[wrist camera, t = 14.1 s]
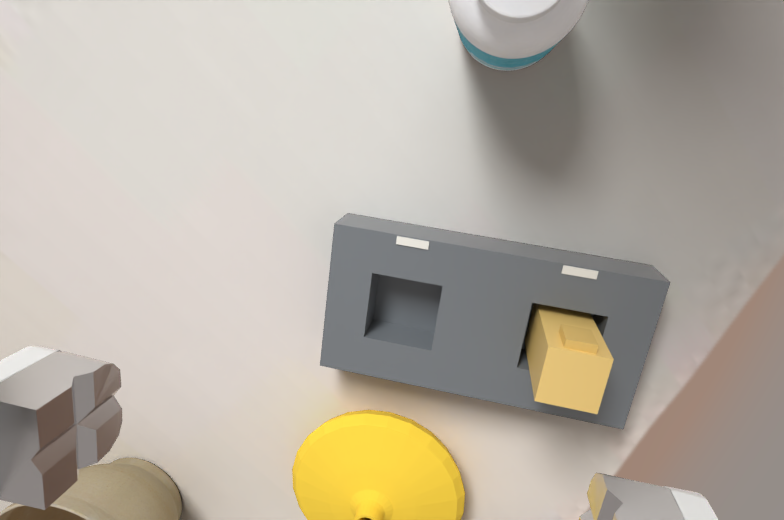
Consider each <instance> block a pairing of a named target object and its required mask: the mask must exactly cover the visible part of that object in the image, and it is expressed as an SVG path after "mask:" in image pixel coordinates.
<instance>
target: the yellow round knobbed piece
mask: <svg viewBox="0 0 784 520" xmlns="http://www.w3.org/2000/svg"><path fill="white" fill-rule="evenodd" d="M292 471H293V489H294V492H295V495H296V498H297V501H298V504H299V507H300V509H301V510H302V512H303V513H304V515H305V517H306V518H307V520H461V517H462V515H463V513H464V499H465V492H464V487H463V483H462V479H461V475H460V472H459V470H458V467H457V465H456V463H455V462H454V460H453V458H452V456H451V455H450V453H449V451H448V449H447V448H446V447H445V446H444V445H443V444H442V443H441V441H440V440H439V439H438V438H437V437H436V436H435V435H434V434H433V433H432V432H430V431H429V430H427V429H426V428H424V427H423V426H421V425H419V424H418V423H416V422H415V421H413V420H411V419H408V418H405V417H403V416H400V415H397V414H394V413H391V412H384V411H375V410H363V411H355V412H347V413H345V414H342V415H340V416H337V417H335V418H332V419H330V420H328V421H327V422H325V423H324V424H323V425H321V426H320V427H319V428H317V429H316V430H315V431H314V432H312V433H311V434H310V435H309V436H308V437H307V438H306V440H305V441H304V443H303V444H302V445H301V447H300V448H299V450H298V451H297V455H296V458H295V462H294V466H293V469H292Z"/></svg>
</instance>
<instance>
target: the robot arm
mask: <svg viewBox="0 0 784 520" xmlns="http://www.w3.org/2000/svg"><path fill="white" fill-rule="evenodd" d="M120 388H121V376H120V369H119V368H118V367H116V366H115V365H114V364H113V363H109V362H105V361H101V360H97V359H93V358H89V357H85V356H81V355H77V354H73V353H69V352H62V351H60V350H56V349H52V348H47V347H43V346H28V347H26V348H24V349H22V350H20V351H18V352H16V353H14V354H12V355H10V356H8V357H6V358H4V359H2V360H0V500H4V501H8V502H12V503H17V504H21V505H25V506H29V507H34V508H38V509H42V510H46V509H47V508H48V507H49V506H50V505H51V504H52V503H53V502H55V501H56V500H57V499H58V498H59V497H60V496H61V495H62V494H63V493H64V492H66V491H67V490H68V489H69V488H70V487H71V486H72V485H73V484H74V483H75V482H77V481H78V474H79V469H81V468H84V467H87V466H89V465H92V464H94V463H97V462H98V461H99V460H101V459H102V458H103V457H104V456H105V455H106V454H107V453H108V452H109V451H110V449H111V448H112V446H113V444H114V442H115V441H116V439H117V437H118V435H119V432H120V428H121V424H122V408H121V406H120V405H119V403H118V402H117V400H116V398H115V397H114V395H115V394H116V392H117V391H118V390H119V389H120ZM587 495H588V499H589V503H590V507H591V509H590V510H589V511H587V512H586V513H584V514H583V515H581V516H580V518H579V520H718V518H717V517H716V515H715V513H714V511H713V510H712V508H711V506H710V504H709V503H708V501H707V499H706V498H705V497H704V496H702V495H701V494H700V493H698V492H692V491H687V490H682V489H677V488H672V487H667V486H664V487H662V486H657V485H652V484H648V483H643V482H639V481H634V480H629V479H624V478H619V477H615V476H610V475H606V474H601V473H596V474H595V475H594V477H593V478H592V480H591V483H590V486H589V489H588V492H587Z"/></svg>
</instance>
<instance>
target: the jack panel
mask: <svg viewBox="0 0 784 520" xmlns="http://www.w3.org/2000/svg"><path fill="white" fill-rule="evenodd" d="M669 285H670V282H669V281H668V280H667V279H666V278H665V277H664V276H663V275H662V274H661V273H660V272H659V271H658V270H657V269H656V268H655V267H653V266H652V265H647V264H641V263H635V262H629V261H624V260H618V259H612V258H606V257H600V256H595V255H589V254H583V253H577V252H571V251H565V250H560V249H554V248H548V247H542V246H536V245H530V244H525V243H519V242H513V241H507V240H501V239H496V238H490V237H484V236H478V235H472V234H466V233H461V232H455V231H449V230H443V229H437V228H431V227H426V226H420V225H414V224H408V223H402V222H397V221H391V220H385V219H379V218H373V217H367V216H362V215H356V214H350V213H347V214H346V215H345V216H344V217H342V218H341V219H340V220H338V221H337V222H336V223H335V224H334V233H333V243H332V252H331V262H330V272H329V282H328V292H327V301H326V311H325V321H324V331H323V340H322V350H321V360H320V366H325V367H330V368H335V369H339V370H344V371H349V372H354V373H358V374H363V375H368V376H373V377H377V378H382V379H387V380H392V381H396V382H401V383H406V384H411V385H415V386H420V387H425V388H429V389H434V390H439V391H444V392H448V393H453V394H458V395H463V396H467V397H472V398H477V399H482V400H486V401H491V402H496V403H501V404H505V405H510V406H515V407H520V408H524V409H529V410H534V411H539V412H543V413H548V414H553V415H558V416H562V417H567V418H572V419H576V420H581V421H586V422H591V423H595V424H600V425H605V426H610V427H614V428H619V429H624V425H625V422H626V419H627V416H628V413H629V410H630V407H631V404H632V400H633V397H634V394H635V391H636V388H637V385H638V382H639V379H640V375H641V372H642V369H643V366H644V363H645V360H646V357H647V354H648V350H649V347H650V344H651V341H652V338H653V335H654V332H655V329H656V325H657V322H658V319H659V316H660V313H661V310H662V307H663V303H664V300H665V297H666V294H667V291H668V288H669ZM534 303H537V304H542V305H547V306H553V307H558V308H564V309H569V310H574V311H580V312H585V313H590V314H591V316H592V318H593V320H594V322H595V324H596V326H597V328H598V330H599V331H600V333H601V335H602V337H603V339H604V341H605V343H606V345H607V347H608V349H609V351H610V353H611V355H612V357H613V359H614V360H613V364H612V367H611V370H610V374H609V377H608V380H607V384H606V387H605V390H604V394H603V397H602V400H601V404H600V407H599V410H598V414H594V413H589V412H584V411H579V410H575V409H570V408H565V407H560V406H555V405H551V404H546V403H541V402H536V401H534V395H533V389H532V383H531V377H530V371H529V365H528V359H527V354H526V348H525V337H526V333H527V329H528V325H529V321H530V316H531V312H532V308H533V304H534Z"/></svg>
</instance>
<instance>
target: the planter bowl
mask: <svg viewBox="0 0 784 520" xmlns="http://www.w3.org/2000/svg"><path fill="white" fill-rule="evenodd" d="M181 511H182V502H181V497H180V494H179V491H178V489H177V487H176V485H175V484H174V482H173V481H172V480H171V478H170V477H169V476H168V475H167V474H166V473H165V472H164V471H162V470H161V469H160V468H158V467H157V466H155V465H153V464H152V463H150V462H147V461H145V460H141V459H137V458H122V459H118V460H116V461H113V462H112V463H110V464H99V465H93V466H88V467H84V468H81V469H79V474H78V481H77V482H75V483H74V484H73V485H72V486H71V487H70V488H69V489H68V490H67V491H66V492H64V493H63V494H62V495H61V496H60V497H59V498H58V499H57V500H56V501H55V502H53V503H52V504H51V505H50V506H49V507H48V508H47V509H46V510H42V509H38V508H34V507H29V506H25V505H21V504H17V503H13V504H12V505H10V506H8V507H7V508H6V509H4V510H3V511H2V512H0V520H179V518H180V516H181Z"/></svg>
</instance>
